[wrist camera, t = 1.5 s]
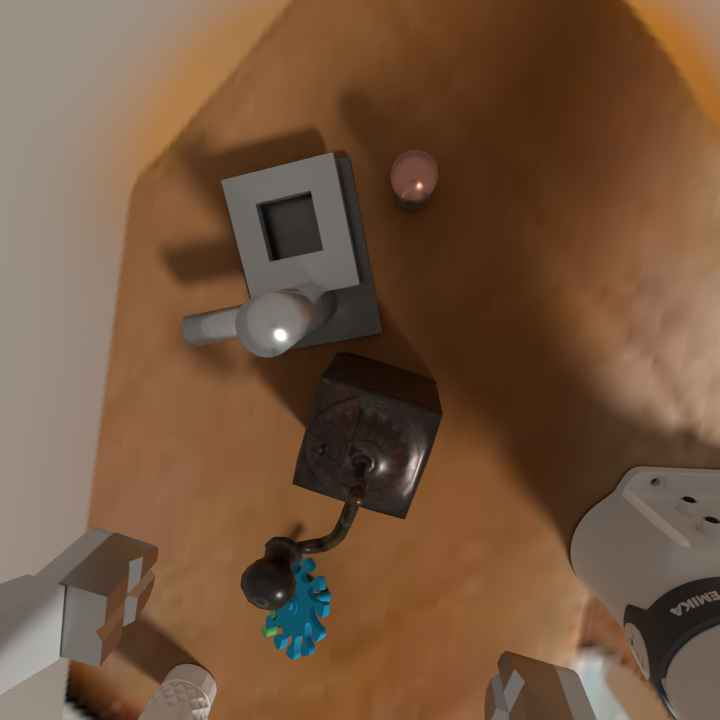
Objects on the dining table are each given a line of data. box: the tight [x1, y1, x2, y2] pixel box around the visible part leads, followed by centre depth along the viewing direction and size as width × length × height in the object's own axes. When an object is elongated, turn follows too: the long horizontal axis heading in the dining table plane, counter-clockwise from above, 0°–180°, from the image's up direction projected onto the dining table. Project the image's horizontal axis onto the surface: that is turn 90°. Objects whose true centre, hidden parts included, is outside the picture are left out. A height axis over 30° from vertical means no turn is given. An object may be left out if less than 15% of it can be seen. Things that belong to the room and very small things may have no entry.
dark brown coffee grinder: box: [241, 353, 443, 611], centre depth 35 cm, size 16×11×18 cm
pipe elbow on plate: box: [182, 152, 383, 357], centre depth 34 cm, size 16×16×15 cm
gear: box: [262, 554, 331, 660], centre depth 47 cm, size 11×6×10 cm
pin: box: [390, 149, 438, 212], centre depth 34 cm, size 3×3×8 cm
